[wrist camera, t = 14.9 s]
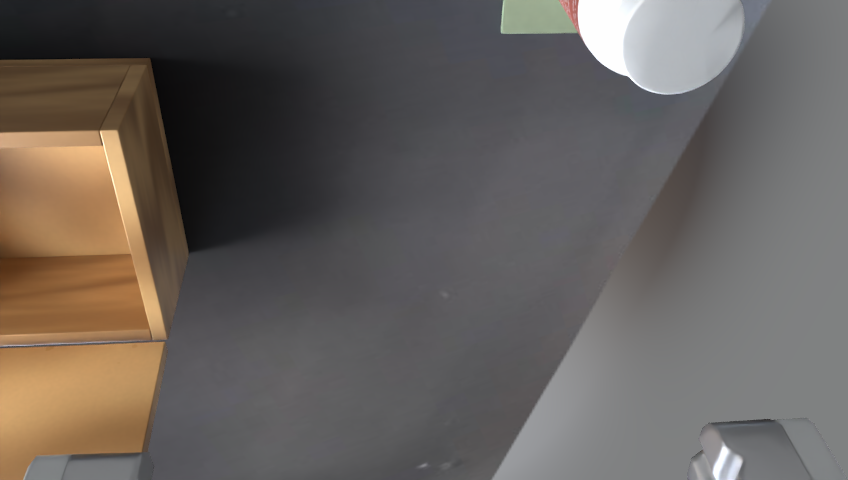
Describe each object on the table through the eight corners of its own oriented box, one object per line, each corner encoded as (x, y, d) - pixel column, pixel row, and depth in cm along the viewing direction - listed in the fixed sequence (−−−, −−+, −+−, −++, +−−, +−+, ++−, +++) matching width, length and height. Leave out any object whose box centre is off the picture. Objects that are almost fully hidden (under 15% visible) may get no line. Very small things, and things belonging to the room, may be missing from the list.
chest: (-135, 61, 39) (-217, 136, 33) (150, 57, 40) (118, 129, 34) (-48, 261, 47) (-103, 350, 41) (189, 254, 48) (168, 340, 42)
